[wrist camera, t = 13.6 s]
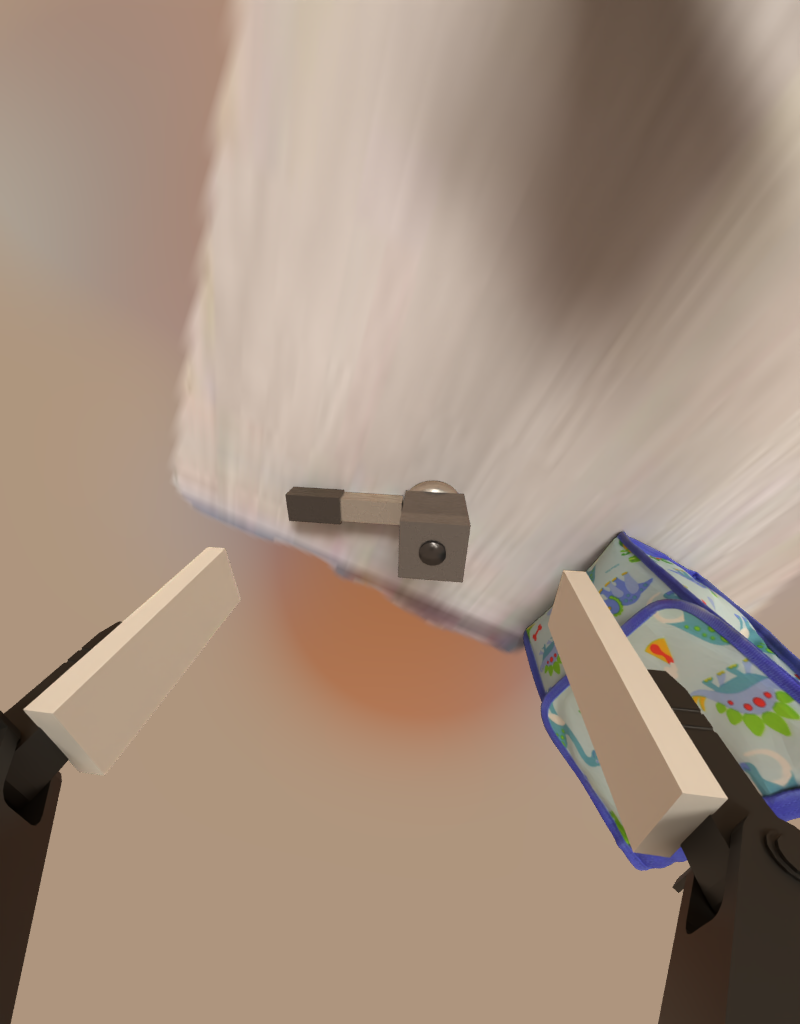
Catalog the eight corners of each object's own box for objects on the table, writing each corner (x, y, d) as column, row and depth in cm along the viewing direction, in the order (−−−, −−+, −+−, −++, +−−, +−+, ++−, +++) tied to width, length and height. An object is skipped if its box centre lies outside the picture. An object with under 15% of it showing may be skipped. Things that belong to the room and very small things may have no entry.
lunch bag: (603, 515, 42) (816, 721, 19) (704, 568, 44) (1010, 814, 21) (504, 624, 52) (562, 849, 28) (590, 663, 54) (710, 904, 30)
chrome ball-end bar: (291, 472, 43) (265, 494, 36) (466, 482, 42) (472, 507, 35) (298, 524, 47) (275, 553, 40) (459, 536, 45) (463, 568, 38)
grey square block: (405, 490, 40) (399, 522, 32) (463, 493, 39) (470, 527, 32) (404, 539, 43) (397, 579, 35) (457, 543, 42) (462, 584, 35)
